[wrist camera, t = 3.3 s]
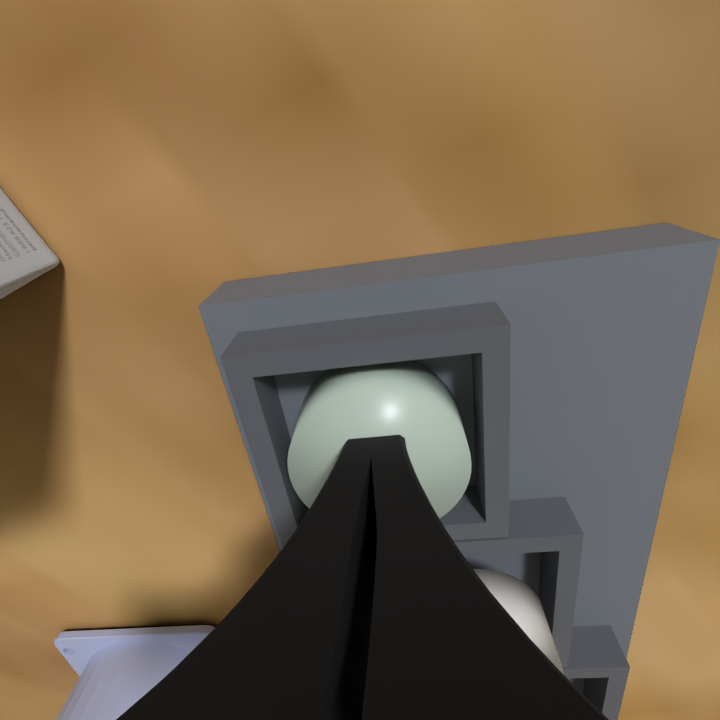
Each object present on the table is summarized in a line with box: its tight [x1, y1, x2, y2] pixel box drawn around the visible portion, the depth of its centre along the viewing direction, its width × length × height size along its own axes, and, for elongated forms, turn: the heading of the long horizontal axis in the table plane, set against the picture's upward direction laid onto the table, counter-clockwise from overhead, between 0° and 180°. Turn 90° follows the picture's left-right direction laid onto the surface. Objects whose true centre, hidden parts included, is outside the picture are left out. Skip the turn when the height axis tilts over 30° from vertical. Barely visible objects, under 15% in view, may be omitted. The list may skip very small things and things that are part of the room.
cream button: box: [473, 569, 564, 674], centre depth 13 cm, size 4×4×2 cm
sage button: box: [287, 360, 472, 519], centre depth 11 cm, size 4×4×2 cm
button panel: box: [199, 223, 720, 720], centre depth 15 cm, size 21×12×3 cm, turn 8°
